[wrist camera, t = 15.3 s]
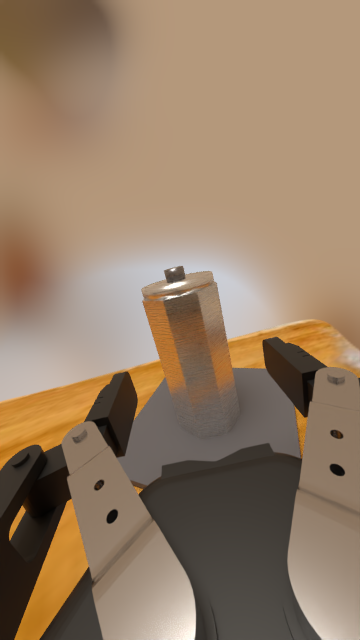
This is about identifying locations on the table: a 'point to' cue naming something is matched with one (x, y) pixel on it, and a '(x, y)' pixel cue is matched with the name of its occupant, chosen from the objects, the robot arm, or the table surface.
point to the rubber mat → (178, 445)
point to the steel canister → (193, 351)
